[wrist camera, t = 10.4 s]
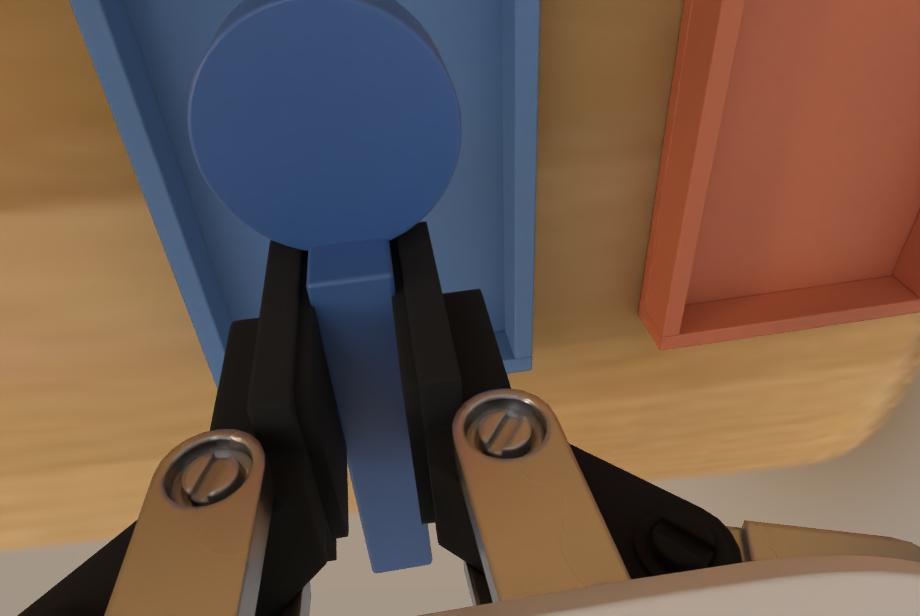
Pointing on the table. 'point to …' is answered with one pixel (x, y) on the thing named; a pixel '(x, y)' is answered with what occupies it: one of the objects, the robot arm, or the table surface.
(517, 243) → the blue tray
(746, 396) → the table surface
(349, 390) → the blue spoon
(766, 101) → the red tray
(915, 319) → the table surface
